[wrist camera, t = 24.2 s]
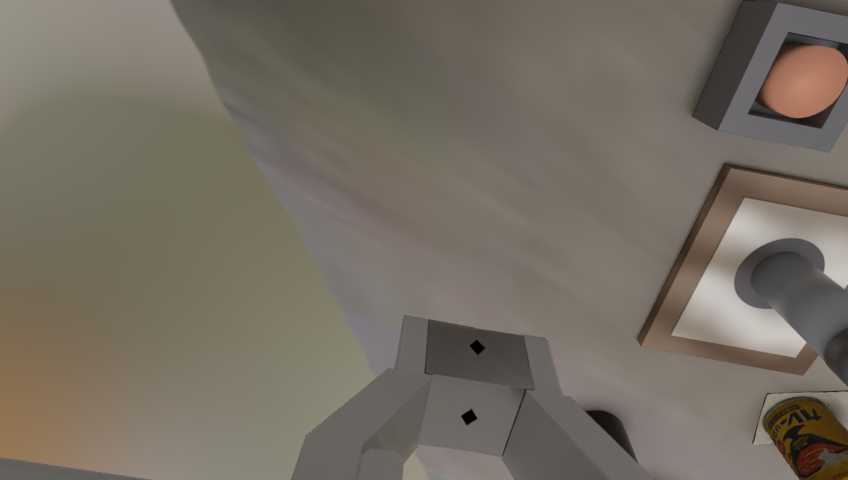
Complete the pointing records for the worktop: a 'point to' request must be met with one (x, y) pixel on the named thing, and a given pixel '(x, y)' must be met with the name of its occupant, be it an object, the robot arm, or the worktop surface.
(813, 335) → the grey cylinder
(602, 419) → the supplement bottle
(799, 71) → the button
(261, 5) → the worktop surface
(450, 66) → the worktop surface
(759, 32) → the button box
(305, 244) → the worktop surface
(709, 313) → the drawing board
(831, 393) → the condiment
